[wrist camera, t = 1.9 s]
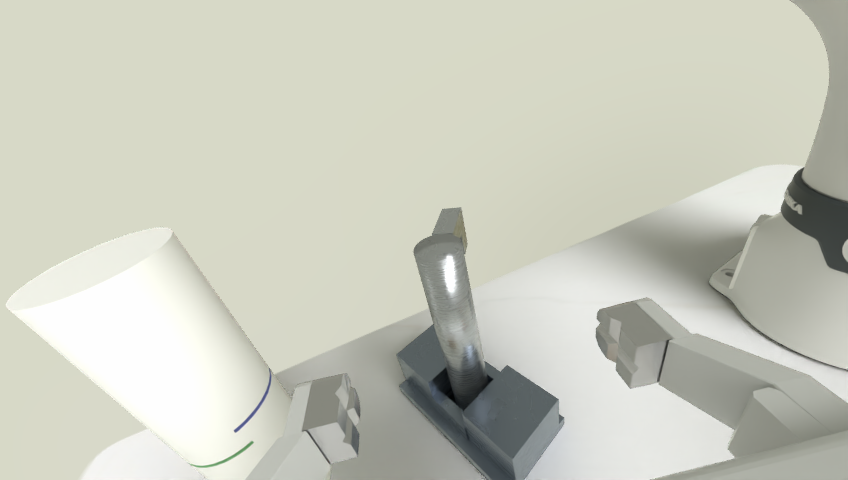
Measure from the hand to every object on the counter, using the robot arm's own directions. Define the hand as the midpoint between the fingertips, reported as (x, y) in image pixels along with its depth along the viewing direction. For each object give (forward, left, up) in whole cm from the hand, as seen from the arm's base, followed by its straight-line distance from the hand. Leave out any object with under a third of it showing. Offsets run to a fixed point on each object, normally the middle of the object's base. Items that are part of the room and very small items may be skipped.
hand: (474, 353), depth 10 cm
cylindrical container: (+9, -18, -23) cm, 30 cm away
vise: (-7, -10, -22) cm, 25 cm away
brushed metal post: (-8, -11, -21) cm, 26 cm away
